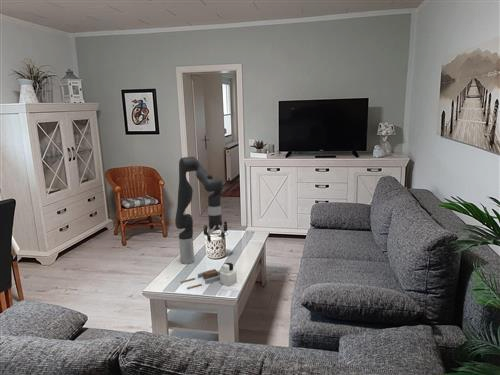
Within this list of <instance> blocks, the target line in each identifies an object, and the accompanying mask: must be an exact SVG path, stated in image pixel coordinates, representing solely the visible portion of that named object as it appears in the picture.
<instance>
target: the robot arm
mask: <svg viewBox="0 0 500 375" xmlns="http://www.w3.org/2000/svg"><path fill="white" fill-rule="evenodd" d="M188 172H189V173H190V172H196V173H195V176H196V178H197V180H198V181H199V182H200V183H201V184H202V185H203V188H204V190H205V191H206V192H207V193H208V192H209V193H212V192H213V193H212V194H211V195H208V197H207V205H208V207H207V208H208V209H207V212H208V213H207V214H208V216H207V217H208V224H203V235H205V236H206V240H207V242H208V243H211V242H212V236H211V235H212V234H213V232H215V231H220V237H221V240H224V239H225V236H226V232H228V231H229V230H228V221H226V220H223V219H222V206H221V202H222V201H221V197H222V192H223V187H224V184H223V183H224V181H222V179H221V178H218V177H217V178H213V175H211V174H210V173H209V172H208V171H207V170H206V169H205V168H204V167H203V165H202V164H201V163H200V161H199V160H198V159H197V158H196V157H195V156H184V157H181V158H180V159H179V162H178V188H177V190H178V191H177V205H176V206H177V207H176V214H175V217H174V218H175V219H174V220H175V221H174V222H175V224H174V225H175V227H176V229H178V230H182V229H183V230H182V231H181V232H179V233H178V241H179V255H180V256H179V257H180V263H181V264H183V265H189V264H192V263H194V262H195V255H194V254H195V252H194V238H193V236H194V222H193V220H194V219H193V216H192V214H190V213H186V214H185V211H186V209H187V208H188V206H189V205H190V204H191V202H192V200H193V193H194V192H193V191H194V190H193V187H192V185H191V184H190V182H189V181H188V179H187V173H188ZM222 220H223V221H222ZM222 225H223V227H222Z"/></svg>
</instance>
